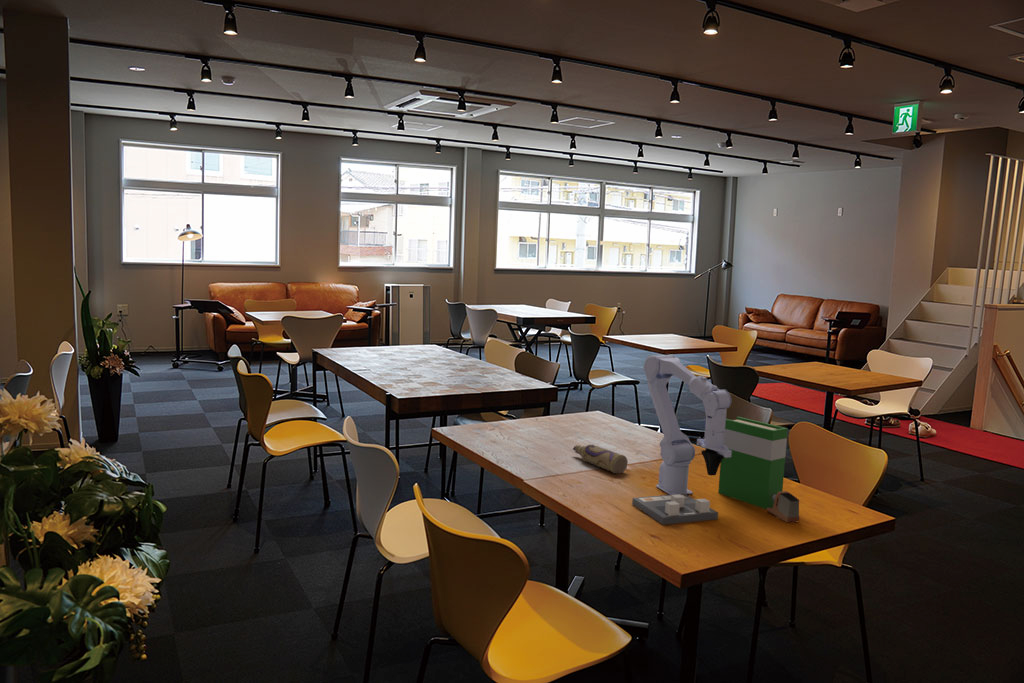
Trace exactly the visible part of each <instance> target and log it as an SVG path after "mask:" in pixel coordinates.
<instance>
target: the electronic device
mask: <svg viewBox="0 0 1024 683" xmlns="http://www.w3.org/2000/svg"><path fill="white" fill-rule="evenodd" d="M771 498H772V500H773V501H774V505H773V507H772V508H767V510H766V511H767V512H769V513H768V514H771V513H772V515H774V517H775V518H777V517H778V518H780V519H779V520H781V521H783V522H784V521H785V522H784V523H786V522H793V523H797V522H796V521H799V522H800V500H799V498H797V497H796V496H795V495H793V494H792V493H790V492H789V491H787V490H782V491H781V492H778V493H777V494H773V495H772V496H771ZM778 518H777V519H778Z"/></svg>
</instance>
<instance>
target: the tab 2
mask: <svg viewBox="0 0 1024 683" xmlns="http://www.w3.org/2000/svg"><path fill="white" fill-rule="evenodd" d="M695 500H696V505H695V510H697V511H699V512H709V508H711V507H710V505H711V501H710V500H708V499H706V498H696V499H695Z"/></svg>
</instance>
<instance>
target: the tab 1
mask: <svg viewBox="0 0 1024 683" xmlns="http://www.w3.org/2000/svg"><path fill="white" fill-rule="evenodd" d="M679 507H680V504H679V503H677V502H675V501H672V502H666V503H665V513H667V514H668V515H679Z"/></svg>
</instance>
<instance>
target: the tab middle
mask: <svg viewBox="0 0 1024 683" xmlns="http://www.w3.org/2000/svg"><path fill="white" fill-rule="evenodd" d="M672 501H675V502H677V503H679V504H680V507H684V503H685V497H684V496H682V495H680V494H677V495H671V502H672ZM680 507H679V508H680Z"/></svg>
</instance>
